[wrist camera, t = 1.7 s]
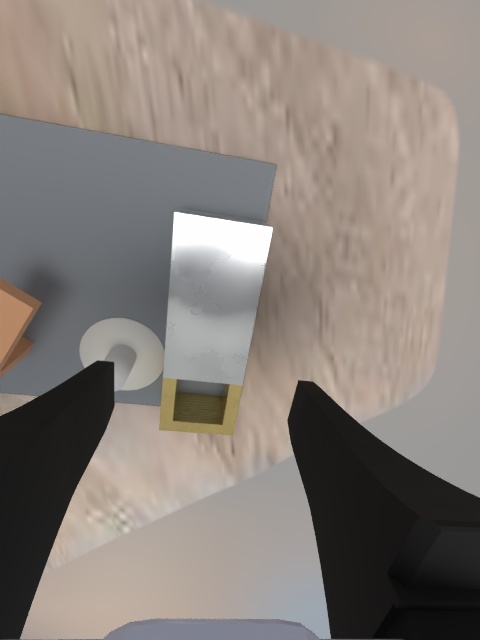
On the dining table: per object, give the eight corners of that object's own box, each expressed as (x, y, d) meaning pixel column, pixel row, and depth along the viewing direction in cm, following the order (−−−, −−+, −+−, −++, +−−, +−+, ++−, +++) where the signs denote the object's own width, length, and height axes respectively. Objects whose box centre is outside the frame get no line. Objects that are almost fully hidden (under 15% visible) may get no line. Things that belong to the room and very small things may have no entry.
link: (231, 405, 23) (233, 435, 20) (166, 400, 23) (159, 429, 20) (264, 221, 18) (272, 227, 15) (181, 208, 17) (174, 212, 15)
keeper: (31, 350, 21) (-18, 394, 16) (-5, 331, 20) (-66, 371, 16) (75, 280, 19) (33, 308, 15) (37, 256, 18) (-19, 278, 14)
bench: (-8, 388, 22) (-43, 419, 19) (-61, 103, 15) (-128, 84, 12) (231, 408, 24) (233, 440, 21) (275, 165, 17) (287, 161, 14)
